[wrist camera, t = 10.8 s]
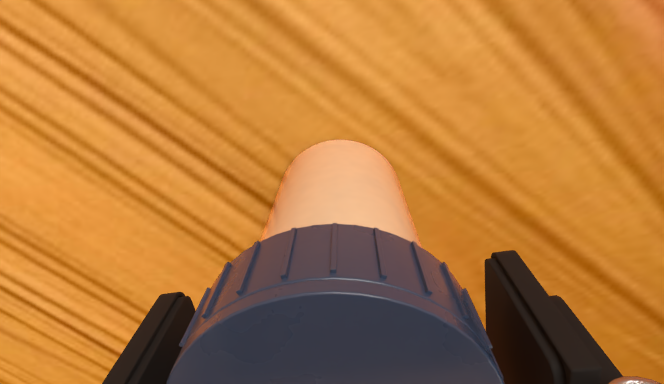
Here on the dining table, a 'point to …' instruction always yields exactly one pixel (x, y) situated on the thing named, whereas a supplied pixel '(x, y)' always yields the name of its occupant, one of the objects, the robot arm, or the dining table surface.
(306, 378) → the cap
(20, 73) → the dining table surface
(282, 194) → the jar
